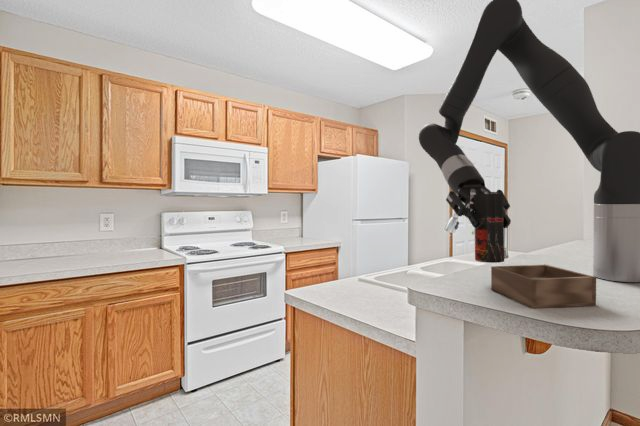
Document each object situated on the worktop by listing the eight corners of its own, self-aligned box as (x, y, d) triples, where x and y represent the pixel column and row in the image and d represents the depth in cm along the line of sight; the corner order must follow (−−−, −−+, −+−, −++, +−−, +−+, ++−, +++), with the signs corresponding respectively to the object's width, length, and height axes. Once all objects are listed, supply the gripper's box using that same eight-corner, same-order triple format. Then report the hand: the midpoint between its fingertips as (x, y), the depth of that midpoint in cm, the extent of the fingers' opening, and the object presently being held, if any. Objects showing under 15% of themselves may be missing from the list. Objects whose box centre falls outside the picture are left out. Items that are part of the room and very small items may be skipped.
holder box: (545, 287, 72) (545, 264, 72) (595, 305, 60) (596, 277, 60) (491, 290, 71) (491, 266, 71) (531, 308, 59) (532, 280, 59)
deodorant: (509, 262, 74) (508, 193, 74) (482, 263, 75) (480, 194, 74) (496, 257, 80) (495, 193, 80) (470, 258, 81) (469, 194, 80)
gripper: (440, 165, 83) (471, 216, 72) (494, 164, 85) (532, 213, 74) (430, 188, 88) (457, 239, 77) (481, 186, 91) (514, 235, 79)
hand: (493, 226), depth 76 cm, fingers closed on deodorant, 6 cm apart
